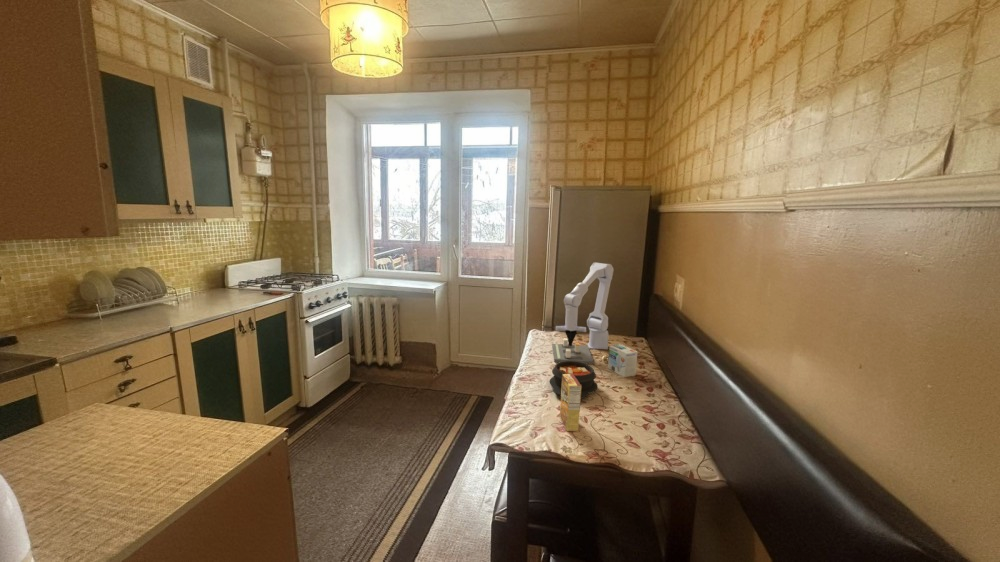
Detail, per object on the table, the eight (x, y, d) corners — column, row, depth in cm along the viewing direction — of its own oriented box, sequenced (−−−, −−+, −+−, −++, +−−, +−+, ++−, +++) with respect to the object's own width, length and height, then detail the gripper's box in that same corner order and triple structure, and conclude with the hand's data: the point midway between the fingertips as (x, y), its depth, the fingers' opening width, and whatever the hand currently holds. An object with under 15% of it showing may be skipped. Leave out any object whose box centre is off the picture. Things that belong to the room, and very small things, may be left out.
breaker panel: (587, 348, 194) (587, 338, 193) (593, 364, 172) (594, 353, 171) (552, 346, 195) (552, 336, 194) (554, 362, 174) (554, 351, 173)
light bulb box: (607, 368, 168) (608, 345, 166) (618, 366, 170) (620, 343, 169) (624, 377, 158) (626, 353, 156) (636, 375, 161) (638, 351, 159)
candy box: (559, 416, 125) (561, 373, 123) (571, 416, 126) (573, 373, 123) (566, 431, 117) (568, 385, 114) (579, 431, 117) (582, 385, 115)
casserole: (594, 406, 133) (595, 384, 132) (542, 397, 139) (543, 376, 138) (599, 379, 156) (601, 360, 155) (555, 372, 162) (556, 354, 161)
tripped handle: (578, 350, 184) (579, 343, 184) (579, 352, 182) (579, 345, 181) (574, 350, 185) (575, 342, 184) (575, 352, 182) (575, 344, 181)
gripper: (556, 320, 177) (555, 347, 180) (587, 321, 176) (586, 348, 178) (555, 316, 184) (554, 342, 187) (585, 317, 183) (584, 343, 185)
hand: (570, 345), depth 183 cm, fingers closed
